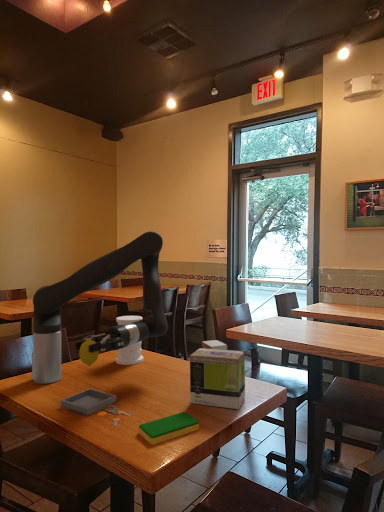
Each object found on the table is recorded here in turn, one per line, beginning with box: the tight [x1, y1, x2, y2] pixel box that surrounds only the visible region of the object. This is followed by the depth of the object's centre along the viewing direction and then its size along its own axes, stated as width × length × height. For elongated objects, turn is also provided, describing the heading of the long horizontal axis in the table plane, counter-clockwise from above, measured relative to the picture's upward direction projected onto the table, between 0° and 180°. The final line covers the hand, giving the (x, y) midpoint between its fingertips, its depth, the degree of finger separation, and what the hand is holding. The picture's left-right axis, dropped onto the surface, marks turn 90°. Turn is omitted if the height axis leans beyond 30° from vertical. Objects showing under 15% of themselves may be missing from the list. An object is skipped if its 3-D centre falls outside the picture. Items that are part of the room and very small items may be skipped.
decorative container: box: [114, 315, 144, 366], centre depth 152 cm, size 12×12×18 cm
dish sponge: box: [138, 411, 200, 445], centre depth 92 cm, size 7×14×2 cm, turn 124°
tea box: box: [189, 347, 246, 410], centre depth 111 cm, size 15×10×15 cm
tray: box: [60, 387, 117, 417], centre depth 108 cm, size 11×11×2 cm
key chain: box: [96, 404, 132, 427], centre depth 101 cm, size 13×7×1 cm, turn 41°
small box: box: [201, 339, 228, 350], centre depth 130 cm, size 8×6×13 cm
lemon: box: [79, 339, 100, 367], centre depth 108 cm, size 6×6×8 cm
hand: (82, 347), depth 106 cm, fingers closed on lemon, 5 cm apart
